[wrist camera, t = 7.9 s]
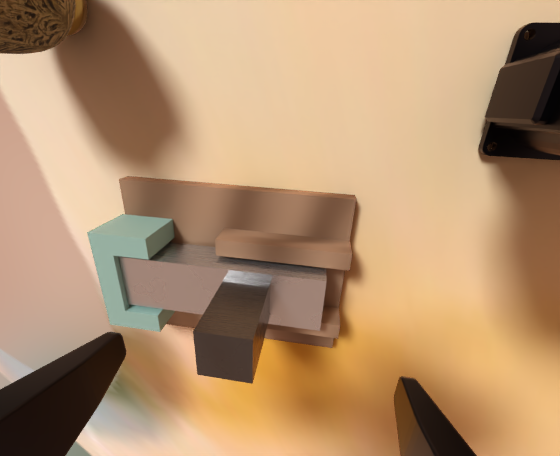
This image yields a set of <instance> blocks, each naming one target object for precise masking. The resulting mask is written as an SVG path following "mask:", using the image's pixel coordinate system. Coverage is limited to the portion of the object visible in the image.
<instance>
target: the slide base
mask: <svg viewBox="0 0 560 456" xmlns="http://www.w3.org/2000/svg"><path fill="white" fill-rule="evenodd" d="M119 183H120V188H121V193H122V199H123V204H124V210H125V214H127V215H137V216H147V217H157V218H167V219H173V226H174V235H175V238H173V239H172V240H171V241H170V242H173V243H182V244H191V245H200V246H209V247H215V249H216V256H225V257H234V258H243V259H252V260H260V261H269V262H278V263H287V264H296V265H304V266H313V267H322V268H326V278H327V282H326V289H325V297H324V304H323V312H322V319H321V327H320V331H317V330H310V329H303V328H295V327H288V326H281V325H274V324H268V326H267V329H266V333H265V337H264V338H267V339H274V340H281V341H288V342H295V343H302V344H308V345H315V346H322V347H329V348H332V346H333V340H334V338H337V339H338V336H339V330H340V317H339V303H340V297H341V291H342V285H343V278H344V272H345V270H349V271H350V265H351V259H352V250H351V245H350V235H351V229H352V223H353V217H354V210H355V204H356V197H355V195H345V194H333V193H321V192H309V191H297V190H285V189H274V188H262V187H250V186H238V185H226V184H214V183H202V182H190V181H178V180H166V179H154V178H142V177H130V176H127V177H124V178H121V179H119ZM201 317H202V314H195V313H187V312H180V311H175V312H174V314H173V315H172V316H171V318H170V319H169V321H168V322H167V323H166V324H171V325H177V326H184V327H191V328H195V327H196V326H197V324H198V322H199V321H200V319H201Z"/></svg>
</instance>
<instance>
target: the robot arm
mask: <svg viewBox="0 0 560 456" xmlns="http://www.w3.org/2000/svg"><path fill="white" fill-rule="evenodd" d="M526 31H529V32H530V37H529V39H528V40H525V39H524V34H525V32H526ZM485 117H486V119H487V123H486V126H485V129H484V132H483V135H482V139H481V142H480V145H479V151H480V152H481V153H482V154H485V155H489V156H504V157H519V158H535V159H550V160H560V23H529V24H527V25H525V26H523V27H521V28H520V29H519V30H518V31H517V32H516V34H515V36H514V38H513V41H512V45H511V48H510V51H509V54H508V57H507V60H506V63H505V66H503V67H502V68H501V69H500V71H499V74H498V78H497V81H496V84H495V87H494V90H493V93H492V97H491V100H490V103H489V106H488V109H487V112H486V116H485ZM490 143H493V147H492V149H490V150H487V146H488V144H490ZM125 356H126V348H125V344H124V340H123V337H122V335H121V334H120V333H115V332H107V333H105V334H103V335H102V336H100V337H98V338H96V339H94V340H92V341H90V342H88V343H86V344H85V345H83V346H81V347H79V348H77V349H75V350H73V351H71V352H70V353H68V354H66V355H64V356H62V357H60V358H58V359H57V360H55V361H53V362H51V363H49V364H47V365H45V366H43V367H42V368H40V369H38V370H36V371H34V372H32V373H30V374H28V375H27V376H25V377H23V378H21V379H19V380H17V381H15V382H13V383H12V384H10V385H8V386H6V387H4V388H2V389H1V390H0V456H65V455H66V454H67V452H68V451H69V449H70V448H71V447H72V445H73V443H74V442H75V440H76V439H77V437H78V436H79V434H80V433H81V431H82V430H83V428H84V427H85V425H86V424H87V422H88V421H89V419H90V418H91V416H92V415H93V413H94V412H95V410H96V409H97V407H98V405H99V404H100V402H101V400H102V399H103V397H104V395H105V393H106V391H107V390H108V388H109V386H110V384H111V382H112V381H113V379H114V377H115V375H116V373H117V371H118V370H119V368H120V366H121V364H122V362H123V360H124V358H125ZM394 406H395V414H396V422H397V430H398V439H399V447H400V455H401V456H477V455H476V454H475V453H474V452H473V450H472V449H471V448H470V447H469V445H468V444H467V443H466V442H465V440H464V439H463V438H462V437H461V435H460V434H459V433H458V432H457V430H456V429H455V428H454V427H453V425H452V424H451V423H450V421H449V420H448V419H447V418H446V416H445V415H444V414H443V413H442V411H441V410H440V409H439V408H438V406H437V405H436V404H435V403H434V401H433V400H432V399H431V398H430V396H429V395H428V394H427V393H426V391H425V390H424V389H423V388H422V386H421V385H420V384H419V383H418V381H417V380H416V379H414V378H410V377H404V376H401V377H400V378H399V380H398V384H397V387H396V391H395V394H394Z"/></svg>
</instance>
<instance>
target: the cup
mask: <svg viewBox="0 0 560 456" xmlns="http://www.w3.org/2000/svg"><path fill="white" fill-rule="evenodd" d="M86 19H87V2H86V0H0V53H7V54H26V53H35V52H41V51H45V50H48V49H50V48H52V47H54V46H56V45H57V44H59V43H60V42H61V41H62V40H63V39H64V38H65V37H66V36H70V35H73V34H76V33H77V32H79V31H80V30H81V29H82V28H83V26H84V25H85V22H86Z"/></svg>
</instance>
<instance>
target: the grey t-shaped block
mask: <svg viewBox="0 0 560 456" xmlns="http://www.w3.org/2000/svg"><path fill="white" fill-rule="evenodd" d="M119 261H120V266H121V271H122V275H123V280H124V285H125V290H126V294H127V299H128V304H130V305H137V306H144V307H151V308H159V309H166V310H173V311H180V312H187V313H195V314H202V317H201V319H200V321H199V322H198V324H197V326H196V327H195V329H194V331H193V334H194V344H195V354H196V364H197V374H198V375H204V376H210V377H216V378H222V379H228V380H234V381H240V382H246V383H252V384H253V380H254V376H255V372H256V368H257V364H258V360H259V357H260V353H261V349H262V345H263V341H264V337H265V333H266V329H267V326H268V324H274V325H281V326H288V327H295V328H303V329H310V330H317V331H320V327H321V319H322V312H323V304H324V297H325V289H326V282H327V278H326V268H322V267H313V266H304V265H296V264H287V263H278V262H269V261H260V260H252V259H243V258H234V257H225V256H216V249H215V247H209V246H200V245H191V244H182V243H173V242H169V243H168V244H166V245H165V246H164V247H163V248H162V249H160V250H159V251H158V252H157V253H156V254H155V255H153V256H152V257H151V258H150V259H149V260H147V259H138V258H130V257H122V256H119Z"/></svg>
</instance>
